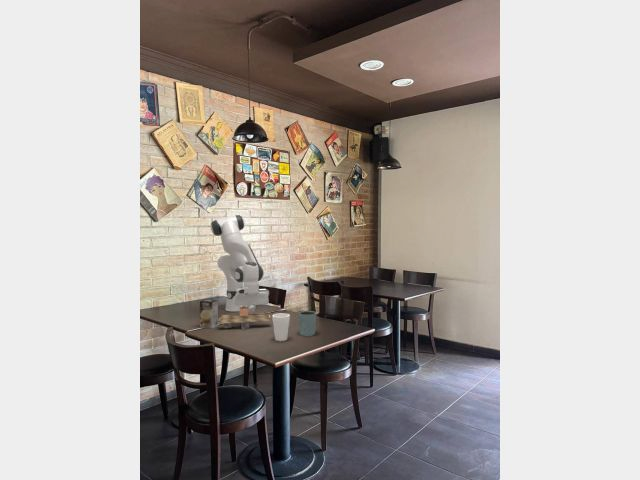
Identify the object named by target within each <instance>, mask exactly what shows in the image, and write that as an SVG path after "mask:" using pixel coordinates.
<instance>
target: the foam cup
mask: <svg viewBox="0 0 640 480" xmlns="http://www.w3.org/2000/svg"><path fill="white" fill-rule="evenodd" d="M271 319H272V325H273V332H274V333H273V334H274V339H275V341H277V342H284V341H287V340H288V337H289V335H288V334H289V327H290V320H291V315H290V314H289V313H285V312H284V313H282V312H281V313H280V312H279V313H273V314H272V316H271Z"/></svg>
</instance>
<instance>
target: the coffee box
mask: <svg viewBox="0 0 640 480" xmlns="http://www.w3.org/2000/svg"><path fill="white" fill-rule="evenodd" d="M218 301H219V300H218V299H211V298H204V299H202V300H201V299H200V300H199V327H200V328H207V329H214V328H216V327H218V326H219V302H218Z"/></svg>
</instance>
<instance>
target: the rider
mask: <svg viewBox="0 0 640 480" xmlns="http://www.w3.org/2000/svg"><path fill="white" fill-rule="evenodd" d="M239 314H240V316H248V314H249V310H248V307H245V306H243V307H240V311H239Z"/></svg>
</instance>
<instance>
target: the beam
mask: <svg viewBox="0 0 640 480" xmlns="http://www.w3.org/2000/svg"><path fill="white" fill-rule="evenodd" d="M271 319H272V316H271V315H270V314H269V312H260V313H259V312H258V313H248V316H240V313H239V314H225V315H224V314H223V315H222V314H221V315H220V317H218V325H219V324H224V327H223V328H224V329H232V324H233V323H234V324H236V323H240V326H241V329H240V330H249V329H250V323H252V322H253V323H254V322H255V323H256V322H269V321H270V322H271Z"/></svg>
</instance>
